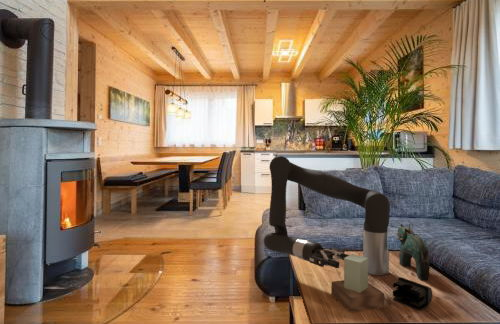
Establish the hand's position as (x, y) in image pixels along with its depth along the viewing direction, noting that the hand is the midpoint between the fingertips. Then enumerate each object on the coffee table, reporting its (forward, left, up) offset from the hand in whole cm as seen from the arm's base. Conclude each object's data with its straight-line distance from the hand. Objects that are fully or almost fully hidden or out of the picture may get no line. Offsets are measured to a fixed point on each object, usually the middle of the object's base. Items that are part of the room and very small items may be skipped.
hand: (345, 262), depth 106 cm
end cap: (-21, +5, -12) cm, 25 cm away
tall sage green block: (-2, +3, -7) cm, 8 cm away
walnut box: (-3, +3, -12) cm, 13 cm away
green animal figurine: (-37, -20, -12) cm, 43 cm away
